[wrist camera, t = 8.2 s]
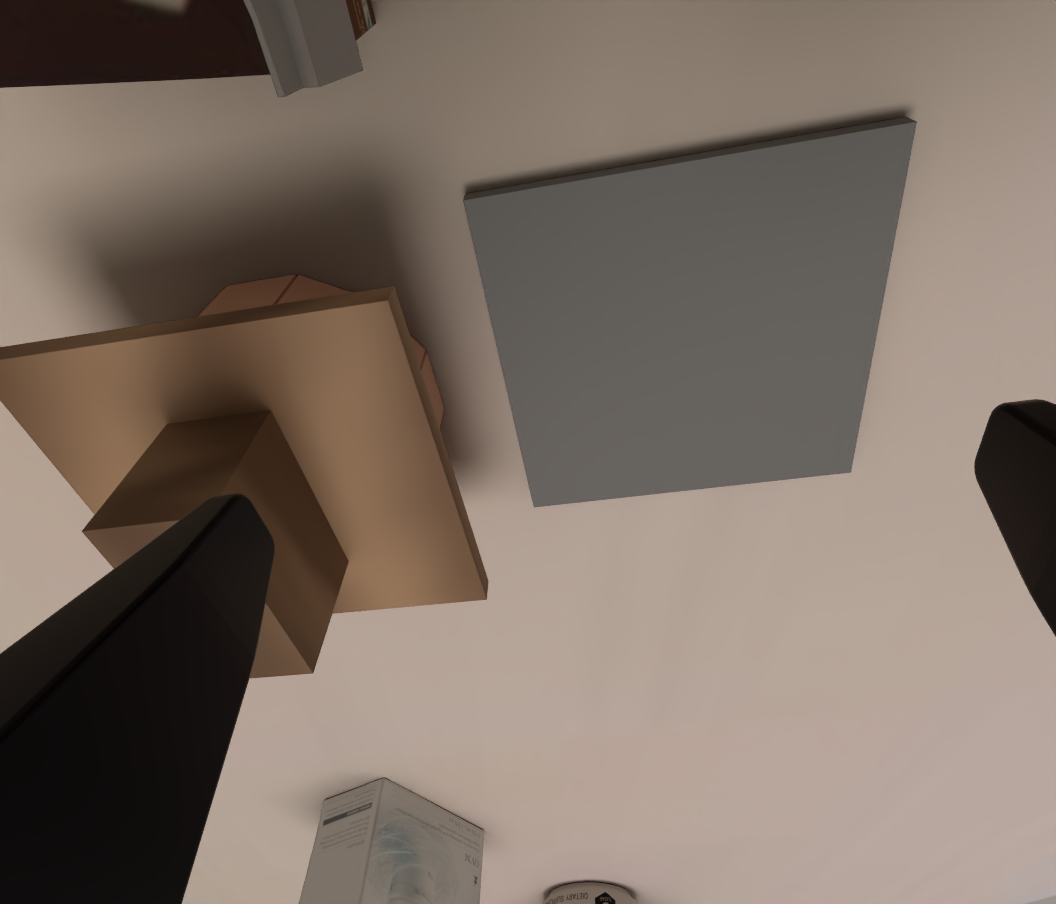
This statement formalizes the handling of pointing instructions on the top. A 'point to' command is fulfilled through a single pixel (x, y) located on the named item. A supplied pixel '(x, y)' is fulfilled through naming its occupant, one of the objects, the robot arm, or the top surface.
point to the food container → (180, 41)
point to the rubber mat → (693, 311)
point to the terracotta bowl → (300, 290)
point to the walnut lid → (263, 452)
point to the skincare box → (392, 851)
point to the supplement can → (589, 894)
